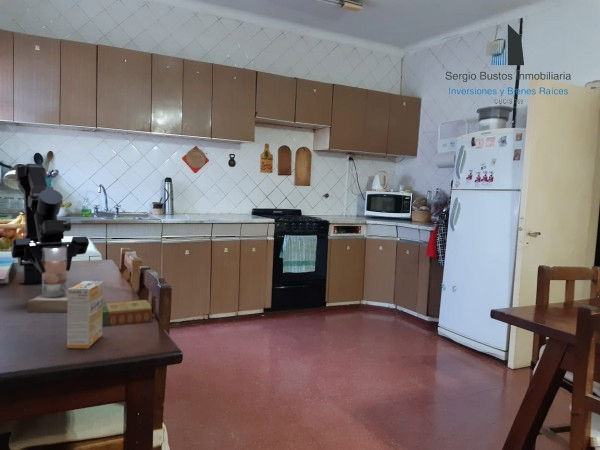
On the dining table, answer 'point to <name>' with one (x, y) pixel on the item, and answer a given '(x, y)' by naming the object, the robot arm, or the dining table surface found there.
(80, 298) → the supplement box
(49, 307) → the board
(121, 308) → the carton
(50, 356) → the dining table surface
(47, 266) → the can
